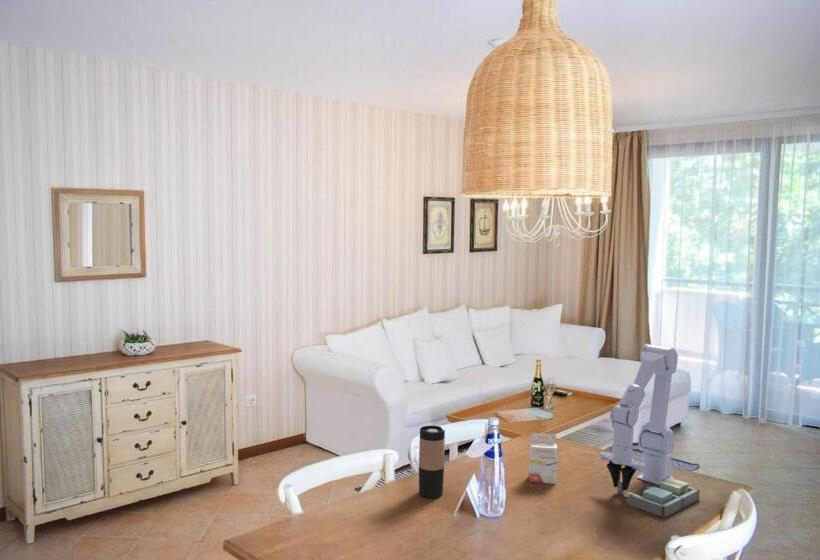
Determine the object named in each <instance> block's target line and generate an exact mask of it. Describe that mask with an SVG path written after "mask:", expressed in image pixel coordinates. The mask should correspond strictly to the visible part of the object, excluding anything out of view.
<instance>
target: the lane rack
mask: <svg viewBox="0 0 820 560" xmlns="http://www.w3.org/2000/svg"><path fill="white" fill-rule="evenodd" d="M664 480H666V479H663V481H664ZM651 487H652V486H646V488H645V490H647V489H649V488H651ZM633 494H634V493H632V494H630V495H628V506H630V505H631V507H633V506H634V507H633V508H636V507H637V508H636V509H639V508H640V509H639V510H641V509H642V510H641V511H644V510H645V512H648V513H650V514H653V515H656V516H658V517H661V518H666V517H669V516H670V515H672V514H675V512H676V513H677V512H678V511H680V510H682V509H683V508H685V507H688V506H689V505H692V504H694V503H695V502H697V501H699V500H700V489H699V488H695V487H692V486H689V489H688V493H686V494H684V495H682V496H677V495H674V494H673V495H672V501H670V502H668V503H666V504H664V505H662V504H659V503H656V502H653V501H650V500H647V499H644V498H641V497H642V496H641V497H638V496H639V495H638V496H636V495H637V494H635V495H633Z"/></svg>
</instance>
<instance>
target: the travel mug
mask: <svg viewBox="0 0 820 560" xmlns="http://www.w3.org/2000/svg"><path fill="white" fill-rule="evenodd" d="M445 431H446V429H443V428H442V427H441V426H440V425H439V426H438V425H425V426H422V427H420V429H419V448H418V449H419V451H418V494H419V496H420V497H421V498H426V499H438V498H441V497H443V493H444V476H445V445H446V444H445V439H446V437H445V434H446V432H445Z"/></svg>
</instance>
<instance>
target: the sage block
mask: <svg viewBox="0 0 820 560" xmlns="http://www.w3.org/2000/svg"><path fill="white" fill-rule="evenodd" d="M689 484H690V483H688V482H685V481H681V480H678V479H676V478H675V479H674V478H673V479H672V478H668V479H666V480H664V481H662V482H660V485H659V488H660V489H663V490H666V491H669V492H672V493H673V494H674V495H677V496H682V495H684V494H686V493H688V489H689V487H690V486H689Z"/></svg>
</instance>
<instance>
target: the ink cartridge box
mask: <svg viewBox="0 0 820 560" xmlns="http://www.w3.org/2000/svg"><path fill="white" fill-rule="evenodd" d="M543 437H544V438H543ZM558 450H559V449H558V445H557V435H556V434H548V433H534V432H533V433H531V434H530V442H529V458H528V480H529V483H541V484H553V485H554V484H557V474H558V456H559V455H558V454H559V453H558Z"/></svg>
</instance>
